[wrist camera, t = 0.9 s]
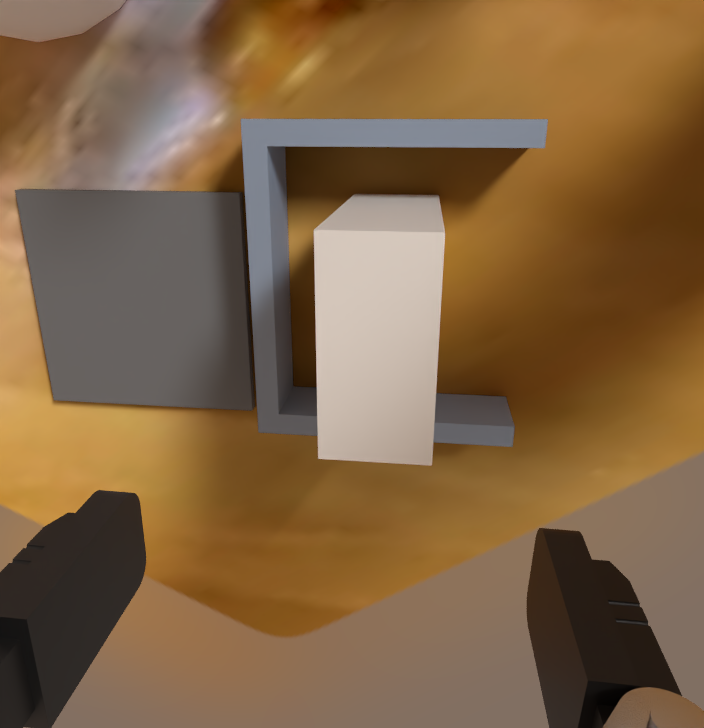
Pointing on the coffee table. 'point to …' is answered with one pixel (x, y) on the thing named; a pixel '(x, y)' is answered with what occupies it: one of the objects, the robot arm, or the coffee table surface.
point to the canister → (52, 17)
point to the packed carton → (378, 327)
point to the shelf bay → (271, 259)
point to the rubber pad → (141, 295)
